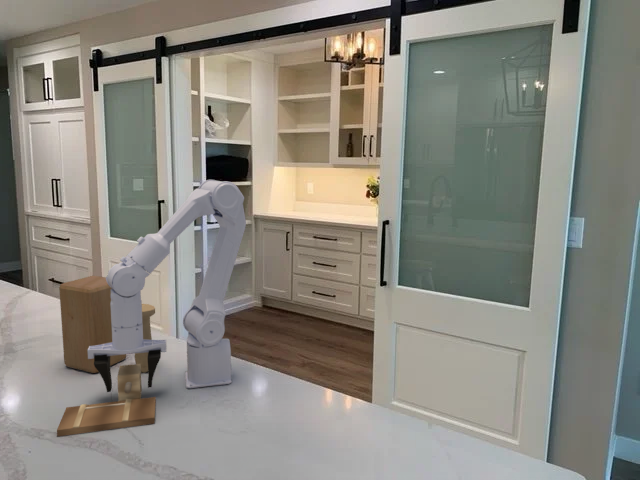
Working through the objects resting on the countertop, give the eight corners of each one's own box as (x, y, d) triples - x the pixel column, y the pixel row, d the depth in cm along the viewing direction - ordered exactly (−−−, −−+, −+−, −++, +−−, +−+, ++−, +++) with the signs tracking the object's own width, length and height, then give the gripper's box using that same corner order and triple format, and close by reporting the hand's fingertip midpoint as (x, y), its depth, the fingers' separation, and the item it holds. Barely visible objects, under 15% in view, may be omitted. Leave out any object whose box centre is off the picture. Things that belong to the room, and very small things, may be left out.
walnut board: (155, 402, 94) (155, 395, 94) (154, 423, 87) (154, 416, 87) (66, 413, 90) (66, 406, 89) (57, 436, 82) (56, 429, 82)
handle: (142, 378, 105) (140, 313, 102) (126, 369, 108) (123, 307, 106) (161, 370, 108) (159, 308, 106) (145, 363, 112) (143, 302, 110)
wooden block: (62, 367, 109) (56, 283, 106) (97, 351, 118) (93, 274, 115) (95, 375, 105) (90, 288, 102) (128, 358, 115) (124, 278, 111)
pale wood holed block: (141, 390, 99) (140, 363, 98) (139, 408, 92) (138, 379, 91) (121, 393, 98) (119, 365, 97) (117, 411, 91) (116, 382, 90)
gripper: (165, 314, 99) (167, 375, 102) (90, 319, 95) (93, 382, 97) (165, 325, 93) (167, 390, 95) (84, 331, 89) (88, 399, 91)
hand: (130, 387), depth 96 cm, fingers open, 7 cm apart
